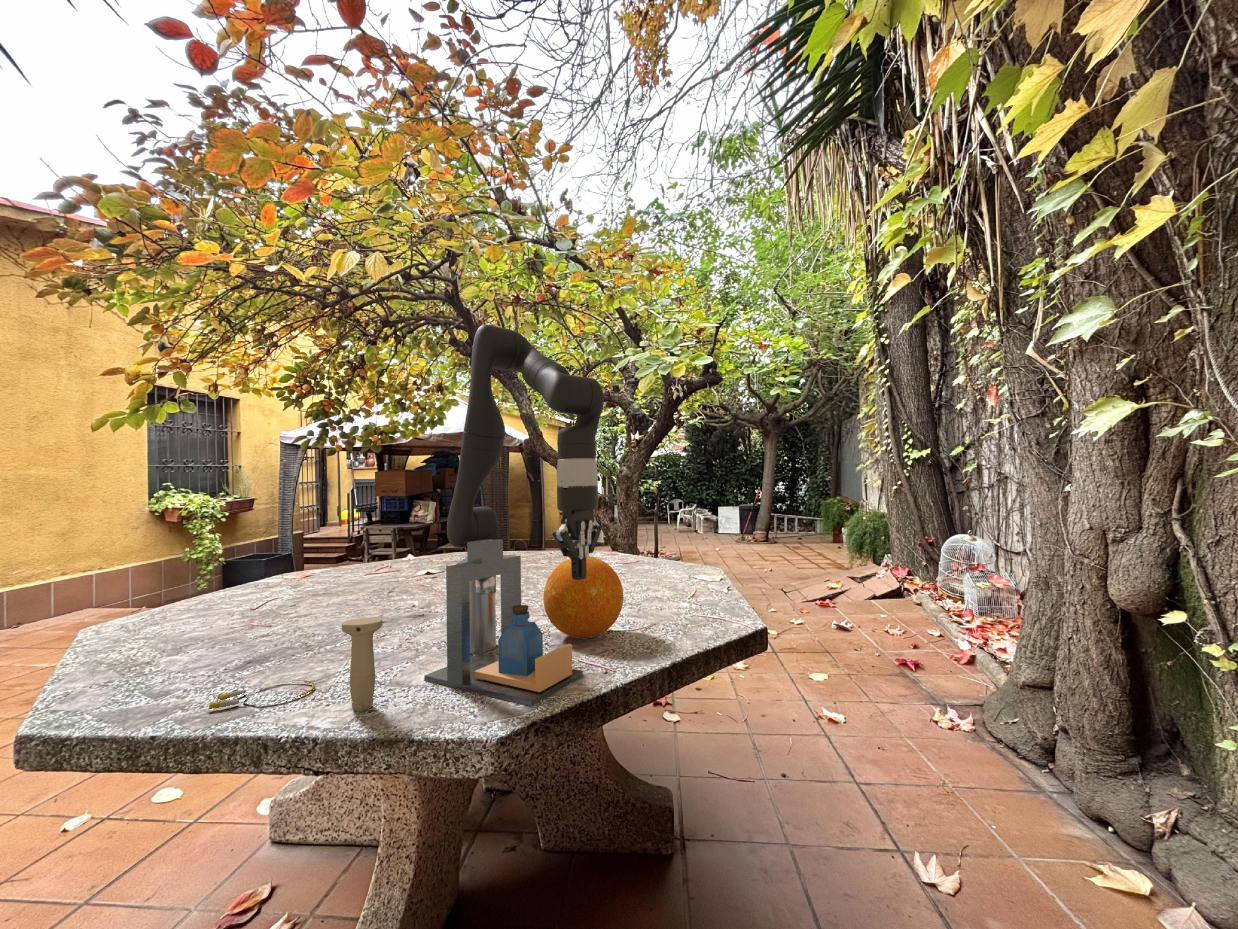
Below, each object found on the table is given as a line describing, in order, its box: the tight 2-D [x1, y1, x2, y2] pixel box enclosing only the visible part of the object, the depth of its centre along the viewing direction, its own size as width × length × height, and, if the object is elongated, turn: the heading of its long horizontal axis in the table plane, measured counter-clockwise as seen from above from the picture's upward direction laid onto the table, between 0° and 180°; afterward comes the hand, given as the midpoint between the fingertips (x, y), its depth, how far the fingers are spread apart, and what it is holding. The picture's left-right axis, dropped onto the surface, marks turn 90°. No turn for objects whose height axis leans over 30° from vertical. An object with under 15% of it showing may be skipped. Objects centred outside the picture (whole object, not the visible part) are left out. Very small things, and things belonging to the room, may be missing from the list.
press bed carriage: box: [474, 643, 573, 692], centre depth 103 cm, size 16×10×6 cm, turn 60°
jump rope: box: [208, 679, 316, 710], centre depth 99 cm, size 12×16×2 cm
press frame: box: [423, 539, 584, 707], centre depth 106 cm, size 27×17×27 cm, turn 60°
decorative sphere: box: [542, 555, 624, 639], centre depth 133 cm, size 20×20×20 cm
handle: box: [341, 617, 383, 712], centre depth 93 cm, size 5×6×15 cm
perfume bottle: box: [497, 604, 544, 676], centre depth 103 cm, size 6×6×12 cm
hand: (579, 579), depth 97 cm, fingers closed
